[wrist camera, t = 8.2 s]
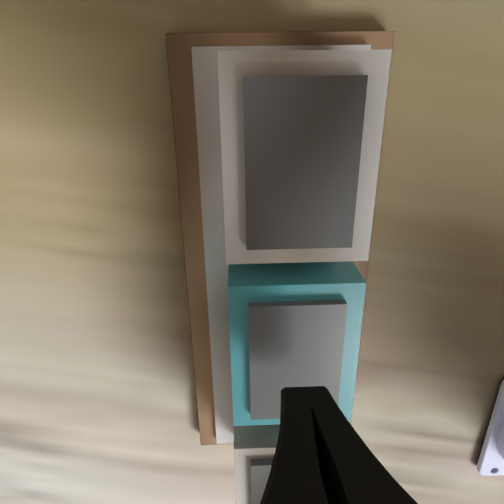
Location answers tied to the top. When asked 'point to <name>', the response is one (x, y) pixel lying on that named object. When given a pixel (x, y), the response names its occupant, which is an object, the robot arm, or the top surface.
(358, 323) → the module
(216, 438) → the board
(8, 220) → the top surface
